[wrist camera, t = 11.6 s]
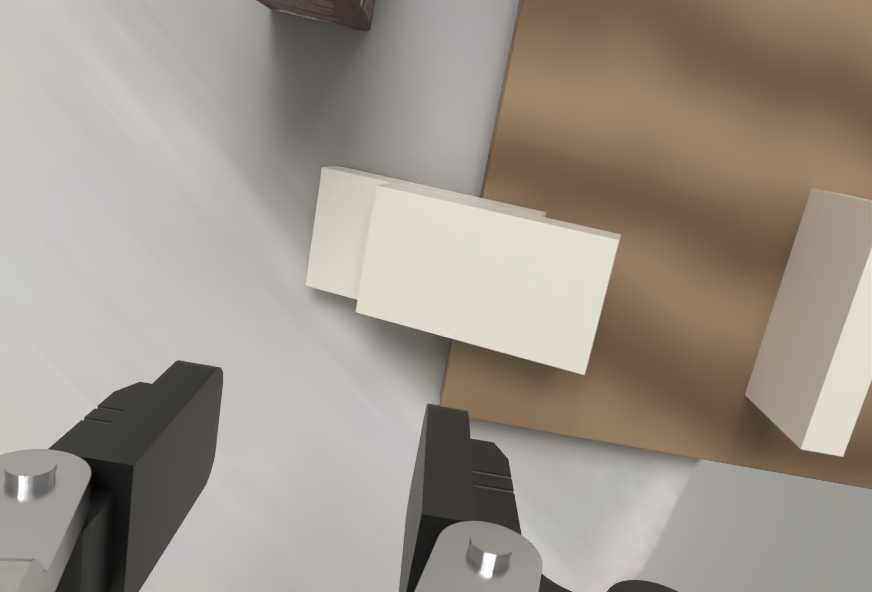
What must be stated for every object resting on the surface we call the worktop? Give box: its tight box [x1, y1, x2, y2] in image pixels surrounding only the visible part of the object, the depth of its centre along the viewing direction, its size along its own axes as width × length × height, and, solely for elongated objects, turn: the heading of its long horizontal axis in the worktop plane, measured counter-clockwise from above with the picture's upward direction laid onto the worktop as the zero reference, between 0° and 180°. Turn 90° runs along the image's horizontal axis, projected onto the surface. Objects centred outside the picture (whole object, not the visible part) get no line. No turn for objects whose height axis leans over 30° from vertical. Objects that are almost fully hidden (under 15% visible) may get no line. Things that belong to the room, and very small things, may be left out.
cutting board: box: [440, 0, 872, 489], centre depth 30 cm, size 20×27×2 cm
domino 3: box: [745, 188, 872, 457], centre depth 27 cm, size 2×5×9 cm
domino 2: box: [356, 183, 621, 375], centre depth 27 cm, size 2×5×9 cm
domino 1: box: [305, 166, 546, 300], centre depth 29 cm, size 2×5×9 cm
